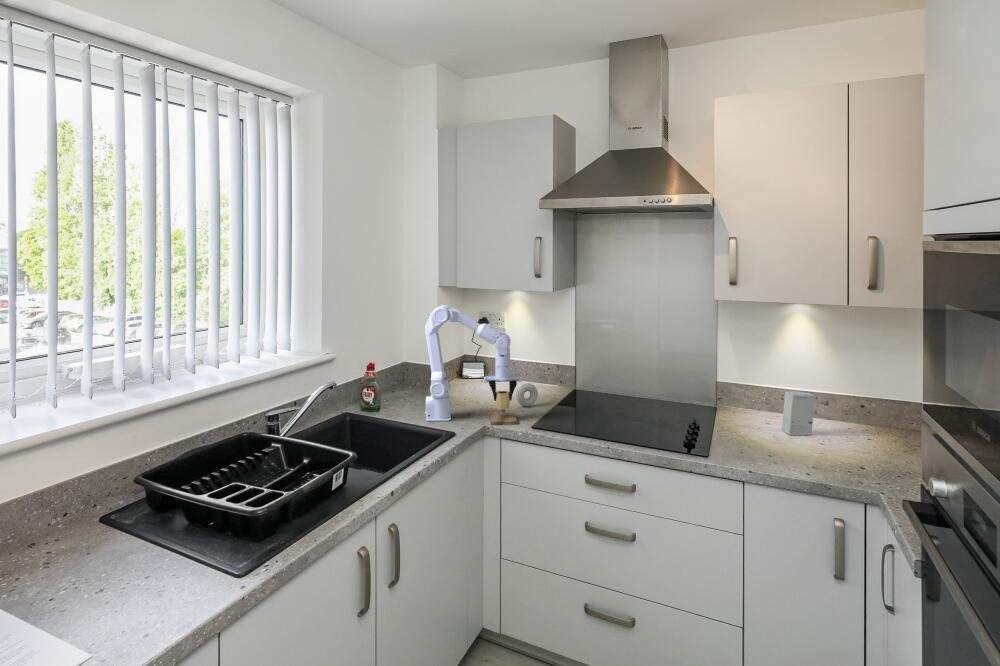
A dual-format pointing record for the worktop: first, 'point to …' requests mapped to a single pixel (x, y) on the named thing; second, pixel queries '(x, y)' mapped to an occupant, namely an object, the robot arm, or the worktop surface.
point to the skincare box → (798, 413)
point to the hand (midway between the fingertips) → (502, 400)
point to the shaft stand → (502, 418)
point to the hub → (502, 400)
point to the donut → (520, 395)
